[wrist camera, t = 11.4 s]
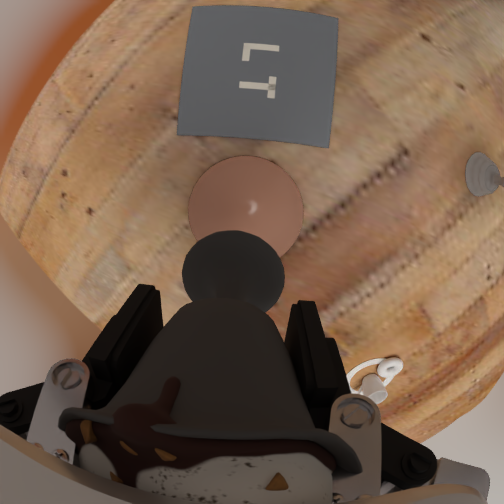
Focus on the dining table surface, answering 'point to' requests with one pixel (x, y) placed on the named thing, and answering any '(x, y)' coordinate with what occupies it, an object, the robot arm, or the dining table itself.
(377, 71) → the dining table surface
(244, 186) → the coaster
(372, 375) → the teacup and saucer
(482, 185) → the chalice
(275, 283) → the sundae
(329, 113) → the card
